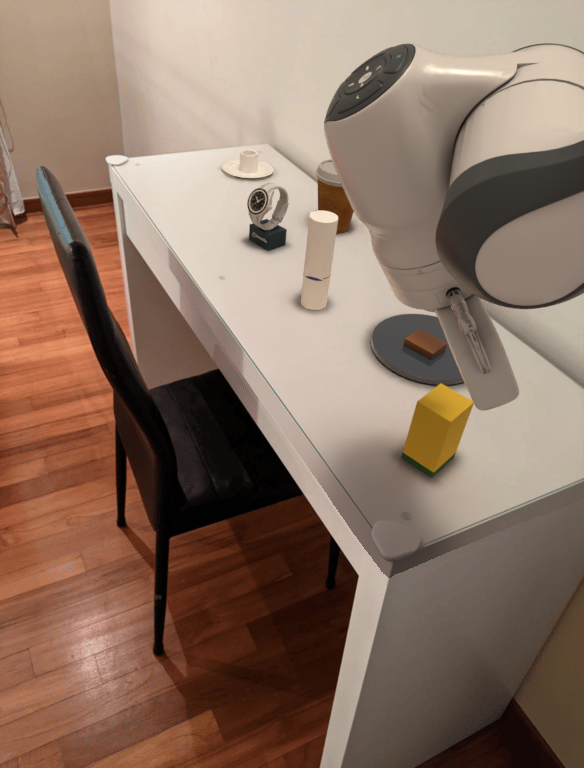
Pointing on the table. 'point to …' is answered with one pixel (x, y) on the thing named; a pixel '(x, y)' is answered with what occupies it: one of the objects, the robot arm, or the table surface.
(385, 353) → the plate
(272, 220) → the watch
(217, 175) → the table surface
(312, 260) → the tube
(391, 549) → the table surface
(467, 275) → the robot arm
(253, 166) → the candle holder
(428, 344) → the brown rectangular block
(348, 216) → the disposable coffee cup
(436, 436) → the sponge
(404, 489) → the table surface
